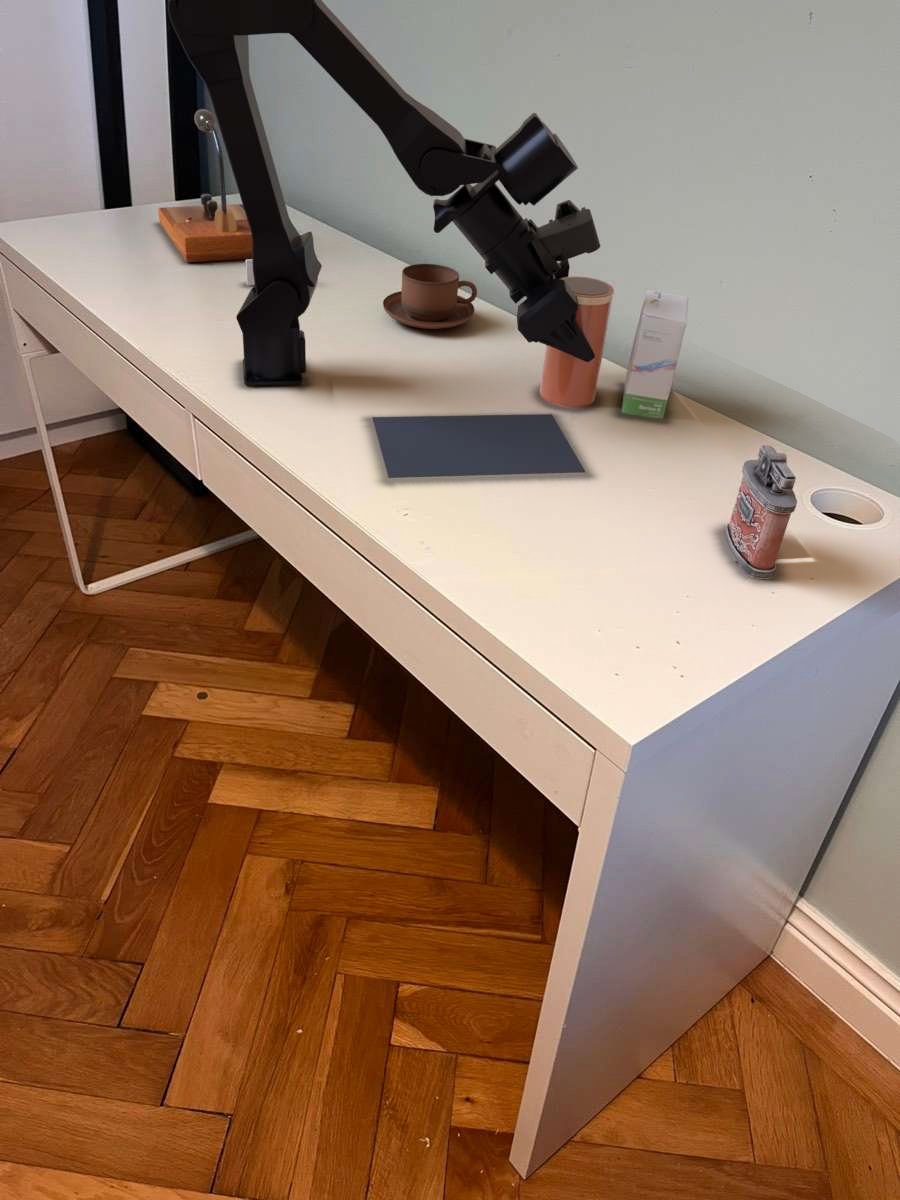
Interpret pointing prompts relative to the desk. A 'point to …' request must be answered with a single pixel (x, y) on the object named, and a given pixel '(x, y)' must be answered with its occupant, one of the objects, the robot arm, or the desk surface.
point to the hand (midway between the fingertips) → (588, 343)
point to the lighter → (761, 512)
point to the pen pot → (567, 374)
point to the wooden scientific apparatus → (210, 220)
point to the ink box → (654, 354)
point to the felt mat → (474, 445)
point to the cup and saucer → (430, 298)
